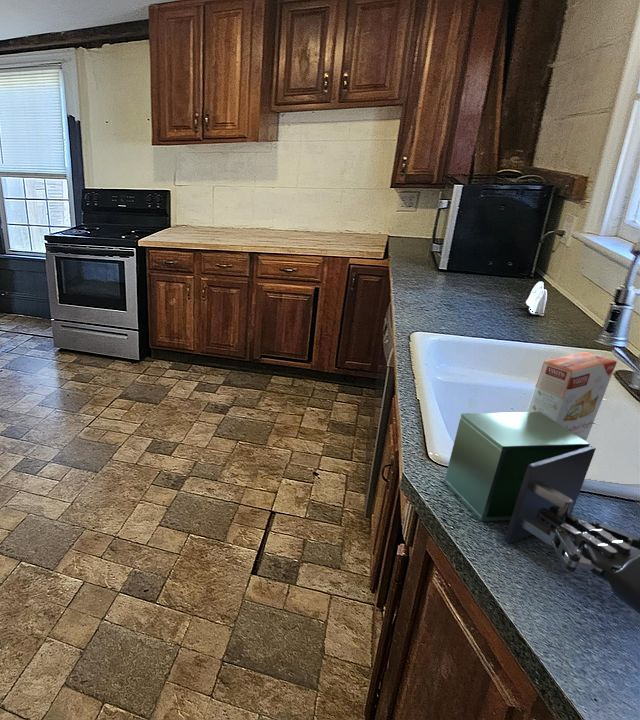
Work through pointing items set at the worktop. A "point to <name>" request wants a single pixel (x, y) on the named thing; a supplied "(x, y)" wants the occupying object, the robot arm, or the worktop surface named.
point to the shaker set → (537, 299)
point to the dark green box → (502, 457)
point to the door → (548, 493)
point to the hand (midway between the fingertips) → (545, 512)
